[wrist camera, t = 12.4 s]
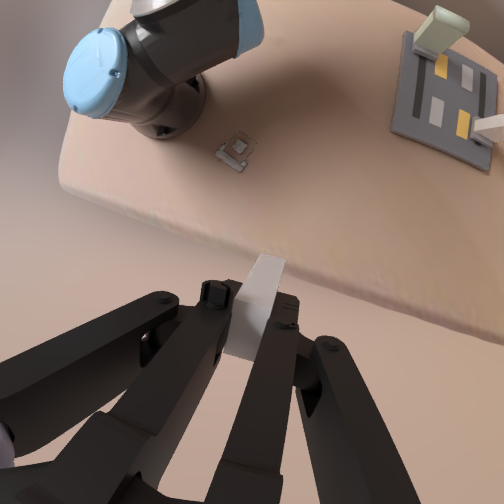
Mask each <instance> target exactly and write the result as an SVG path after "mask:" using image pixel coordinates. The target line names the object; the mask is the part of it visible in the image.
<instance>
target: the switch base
mask: <svg viewBox="0 0 504 504" xmlns="http://www.w3.org/2000/svg"><path fill="white" fill-rule="evenodd" d="M413 35H414V33H411V32H409V31H405V32H404V34H403V40H402V51H401V61H400V69H399V77H398V84H397V91H396V98H395V104H394V110H393V116H392V122H391V127H390V132H392V133H395V134H398V135H401V136H404V137H406V138H409V139H412V140H414V141H417V142H420V143H422V144H425V145H427V146H430V147H432V148H435V149H437V150H439V151H442V152H444V153H446V154H449V155H451V156H453V157H455V158H458V159H460V160H462V161H464V162H466V163H468V164H470V165H473V166H475V167H477V168H479V169H481V170H483V171H488V170H489V164H490V158H491V151H492V147H487V146H485V145H483V144H481V143H479V142H477V141H475V140H473V139H471V138H470V134H471V126H472V118H473V117H475V116H478V117H480V118H482V119H483V118H487V117H491V116H495V115H496V97H497V75H496V74H494V73H492V72H491V71H489V70H487V69H486V68H484V67H482V66H481V65H479V64H477V63H475V62H474V61H472V60H470V59H468V58H466V57H464V56H462V55H460V54H459V53H457V52H455V51H453V50H451V49H446V50H445V51H444V52H443V53H442V54H439V58H438V59H437V60H436V61H433V60H431V59H428V58H426V57H424V56H421V55H419V54H416V53H414V52H412V49H413Z"/></svg>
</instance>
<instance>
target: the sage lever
mask: <svg viewBox="0 0 504 504" xmlns="http://www.w3.org/2000/svg"><path fill="white" fill-rule="evenodd" d="M469 28H470V22H469V21H468V20H466V19H464V18H462V17H460V16H458V15H456V14H454V13H452V12H450V11H448V10H446V9H444V8H442V7H440V6H437V5H436V6H435V8H434V10H433V11H432V13H431V14H430V15H429V16H428V18H427V19H426V20H425V21H424V23H423V24H422V25H421V27H420V28H419V29H418V30H417V31H416V32H415V33H414V35H413V49H412V52H414V53H416V54H419V55H421V56H424V57H426V58H428V59H431V60H433V61H436V60H437V59H438V58H439V54H442V53H443V52H444V51H445V50H446V49H448V48H449V47H450V46H451V45H452V44H453V43H455V42H456V41H457V40H458V39H459V38H461V37H462V36H463V35H464V34H467V33H468V31H469Z"/></svg>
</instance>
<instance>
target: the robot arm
mask: <svg viewBox="0 0 504 504" xmlns="http://www.w3.org/2000/svg"><path fill="white" fill-rule="evenodd" d="M130 13H131V14H132V16H133V17H134V18H135V20H133V21H132V22H130V23H129V24H127V25H126V26H124V27H123V28H121V29H120V30H117V29H115V28H104V29H103V28H100V29H97V30H94V31H92V32H91V33H89V34H88V35H87V36H85V37H84V38H83V39H82V40H81V41H80V42H79V43H78V45H77V46H76V48H75V49H74V51H73V52H72V54H71V56H70V58H69V60H68V63H67V67H66V70H65V73H64V79H63V91H64V96H65V99H66V102H67V104H68V105H69V107H70V108H71V109H72V110H73V111H75V112H76V113H78V114H82V115H86V116H88V117H91V118H93V119H105V120H112V121H119V122H125V123H130V124H131V125H132V126H133V127H134V128H135V129H136V130H137V131H138V132H140V133H141V134H143V135H145V136H148V137H152V138H158V139H167V138H172V137H175V136H177V135H180V134H181V133H183V132H185V131H186V130H187V129H189V128H190V127H191V126H192V125H193V124H194V123H195V121H196V120H197V119H198V117H199V116H200V114H201V112H202V109H203V107H204V103H205V98H206V89H205V84H204V81H203V79H202V77H201V75H200V73H202V72H204V71H206V70H208V69H210V68H212V67H214V66H216V65H218V64H220V63H222V62H224V61H226V60H229V59H231V58H234V59H235V58H237V57H239V56H240V54H242V53H244V52H247V51H249V50H251V49H253V48H255V47H257V46H258V45H260V44H261V42H262V40H263V38H264V25H263V21H262V17H261V13H260V10H259V7H258V4H257V1H256V0H132V4H131V9H130ZM285 260H286V259H283V258H279V257H276V256H272V255H268V254H264V253H261V254H260V256H259V257H258V259H257V261H256V263H255V264H254V266H253V268H252V269H251V271H250V273H249V274H248V276H247V278H246V280H245V281H244V283H241V282H237V281H234V280H230V279H228V280H225V281H218V280H208V281H205V282H203V283H202V288H201V295H200V301H199V302H198V303H197V305H196V306H184V305H179V298H178V297H177V296H176V295H174V294H172V293H170V292H167V291H166V292H165V291H156V292H152V293H150V294H148V295H145V296H143V297H141V298H139V299H137V300H135V301H132V302H130V303H128V304H126V305H124V306H122V307H119V308H117V309H115V310H113V311H111V312H109V313H106V314H104V315H102V316H100V317H98V318H96V319H93V320H91V321H89V322H87V323H85V324H83V325H80V326H79V327H76V328H74V329H72V330H70V331H68V332H66V333H63V334H61V335H59V336H57V337H55V338H52V339H50V340H48V341H46V342H44V343H42V344H40V345H38V346H35V347H33V348H31V349H29V350H27V351H25V352H22V353H20V354H18V355H16V356H14V357H12V358H10V359H7V360H5V361H3V362H1V363H0V504H279V503H280V497H281V492H282V486H283V475H281V474H280V467H281V461H282V455H283V449H284V443H285V436H286V430H287V423H288V416H289V410H290V402H291V395H292V387H293V386H295V387H296V397H297V401H298V405H299V410H300V414H301V419H302V423H303V428H304V432H305V437H306V441H307V446H308V450H309V454H310V459H311V464H312V468H313V473H314V477H315V482H316V486H317V491H318V496H319V500H320V504H421V503H420V500H419V498H418V496H417V493H416V491H415V489H414V486H413V484H412V482H411V479H410V477H409V475H408V473H407V470H406V468H405V466H404V464H403V461H402V459H401V457H400V455H399V453H398V450H397V449H396V446H395V444H394V442H393V440H392V438H391V436H390V433H389V431H388V429H387V427H386V425H385V423H384V421H383V419H382V417H381V414H380V413H379V410H378V408H377V407H376V404H375V402H374V400H373V398H372V396H371V394H370V392H369V390H368V388H367V386H366V384H365V382H364V380H363V378H362V376H361V374H360V372H359V370H358V368H357V366H356V364H355V362H354V360H353V358H352V356H351V354H350V352H349V350H348V349H347V347H346V345H345V344H344V343H343V342H342V341H340V340H339V339H337V338H335V337H332V336H319V337H317V338H316V339H315V341H312V340H310V339H308V338H306V337H305V336H303V335H302V334H301V333H300V332H299V325H298V324H297V322H298V313H299V300H298V299H297V297H296V296H292V295H289V294H285V293H281V292H277V291H278V287H279V283H280V279H281V275H282V272H283V268H284V264H285ZM144 334H146V337H145V338H143V339H142V337H143V336H144ZM223 348H224V351H223V353H226V354H229V355H232V356H236V357H239V358H243V359H246V360H249V361H253V362H254V364H253V367H252V370H251V373H250V376H249V379H248V382H247V386H246V388H245V391H244V394H243V397H242V400H241V403H240V406H239V409H238V412H237V415H236V418H235V421H234V424H233V426H232V429H231V432H230V435H229V438H228V441H227V443H226V446H225V449H224V452H223V455H222V457H221V460H220V461H219V464H218V466H217V469H216V471H215V474H214V477H213V480H212V482H211V485H210V487H209V490H208V493H207V496H206V498H205V501H204V502H197V501H189V500H182V499H175V498H170V497H167V496H165V495H163V494H161V493H160V492H158V491H157V489H158V485H159V482H160V480H161V477H162V475H163V473H164V472H165V469H166V468H167V466H168V464H169V462H170V460H171V458H172V456H173V454H174V452H175V450H176V448H177V446H178V444H179V442H180V440H181V438H182V436H183V434H184V432H185V430H186V428H187V426H188V424H189V422H190V420H191V418H192V416H193V414H194V412H195V410H196V408H197V406H198V404H199V402H200V400H201V398H202V396H203V394H204V392H205V389H206V388H207V386H208V384H209V381H210V379H211V377H212V375H213V373H214V371H215V369H216V367H217V365H218V363H219V361H220V358H221V353H222V350H223ZM126 389H127V390H126ZM125 390H126V392H125V393H124V394H123V395H122V397H121V398H120V399H119V400H118V402H117V403H116V404H115V405H114V407H113V408H112V409H111V410H110V411H109V412H107V413H104V412H102V411H98V412H95V411H97V410H98V409H100V408H101V407H102V406H104V405H105V404H107V403H108V402H110V401H111V400H112V399H114V398H115V397H116V396H118V395H119V394H121V393H122V392H123V391H125ZM94 412H95V413H94ZM92 413H94V414H93V415H92V416H91V417H90V418H89V419H88V420H87V421H86V423H85V424H84V425H83V426H82V427H81V428H80V429H79V431H78V432H77V433H76V434H75V435H74V437H73V438H72V439H71V440H70V441H69V443H68V444H67V445H66V446H65V447H64V449H63V450H62V451H61V452H60V453H59V455H58V456H57V457H56V458H55V460H53V461H49V462H43V463H37V464H32V465H26V466H18V467H15V465H14V462H13V461H14V458H17V457H21V456H24V455H27V454H29V453H31V452H34V451H36V450H38V449H40V448H41V447H43V446H45V445H47V444H48V443H50V442H51V441H52V440H54V439H56V438H57V437H59V436H60V435H61V434H63V433H64V432H66V431H67V430H69V429H71V428H72V427H73V426H75V425H76V424H78V423H79V422H81V421H82V420H84V419H85V418H87V417H88V416H90V415H91V414H92Z"/></svg>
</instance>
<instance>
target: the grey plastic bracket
mask: <svg viewBox="0 0 504 504" xmlns="http://www.w3.org/2000/svg"><path fill="white" fill-rule="evenodd" d="M238 131H239V130H237V132H238ZM237 132H236V133H237ZM239 132H241V131H239ZM236 133H235V134H236ZM241 133H242V132H241ZM235 134H234V135H235ZM242 134H243V133H242ZM244 135H245V134H244ZM245 136H246V135H245ZM233 137H234V136H233ZM233 137H232V138H233ZM246 137H248V136H246ZM232 138H231V139H232ZM248 138H249V137H248ZM231 139H230V141H231ZM249 139H251V138H249ZM251 140H252V139H251ZM230 141H229V142H230ZM252 141H253V140H252ZM229 142H228V143H229ZM253 142H255V141H253ZM255 143H256V142H255ZM227 145H228V144H226V143H225V144H224V145H221V147H220V148H219V150H218V151H217V152H216V154H215V155H216V156H217V157H219V158H220V159H221V160H223V161H224V162H226V163H227V164H228V165H230V166H231V167H232V168H234V169H235V170H236V171H238V172H239V173H241V171H242V170H243V168H244V167H245V166H246V164H247V162H245V160H246V159H247V158H248V156H249V155H250V154H251V152H252V151H253V150H252V151H251V152H250V154H249V155H248V156H247V158H246V159H245V160H244V161H243V162H242V163H241V164H240V163H239V162H238V161H236V160H235V159H234V158H232V157H231V156H230V155H228V154H227V153H225V152H224V151H223V150H224V149H225V148H226V146H227ZM256 145H257V143H256ZM256 145H255V147H256ZM246 146H248V145H247V144H246V143H244V142H243V141H241V140H240V139H238V140H237V141H236V143H235V144H234V145H233V147H232V149H234V150H235V151H237V152H238V153H239V154H241V153H242V152H243V150H244V149H245V148H246ZM255 147H254V148H255ZM254 148H253V149H254ZM219 161H220V160H219Z"/></svg>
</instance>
